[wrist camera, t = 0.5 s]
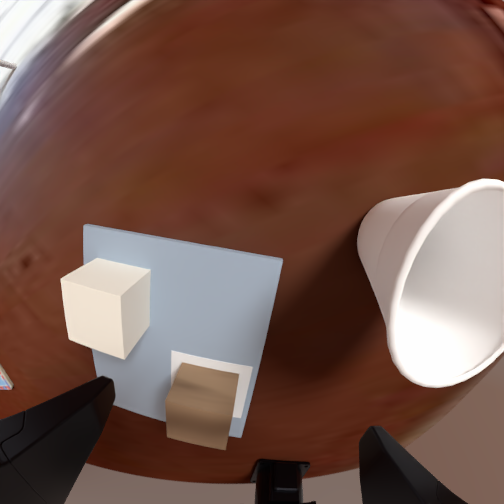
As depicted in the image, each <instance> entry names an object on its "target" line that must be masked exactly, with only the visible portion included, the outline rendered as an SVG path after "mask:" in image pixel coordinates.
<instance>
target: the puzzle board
mask: <svg viewBox="0 0 504 504" xmlns="http://www.w3.org/2000/svg"><path fill="white" fill-rule="evenodd" d="M13 386H14V384H13V383H12V381H11V380H10V378H9V377H8V375H7V374H6V372H5V371H4V369H3V368H2V366H1V364H0V390H9V389H12V387H13Z"/></svg>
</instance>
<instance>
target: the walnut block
mask: <svg viewBox="0 0 504 504" xmlns="http://www.w3.org/2000/svg"><path fill="white" fill-rule="evenodd" d="M238 379H239V374H237V373H232V372H226V371H221V370H216V369H211V368H206V367H201V366H197V365H192V364H188V363H184V362H182V364H181V366H180V368H179V370H178V373H177V375H176V377H175V379H174V382H173V384H172V386H171V389H170V391H169V393H168V395H167V398H166V400H165V409H166V428H167V437H168V438H172V439H176V440H180V441H184V442H188V443H192V444H197V445H201V446H206V447H211V448H216V449H222V450H226V445H227V441H228V436H229V431H230V426H231V421H232V417H233V411H234V404H235V398H236V392H237V385H238Z"/></svg>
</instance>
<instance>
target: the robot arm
mask: <svg viewBox="0 0 504 504" xmlns="http://www.w3.org/2000/svg"><path fill="white" fill-rule="evenodd" d="M115 397H116V394H115V387H114V381H113V379H111V378H109V377H106V376H103V375H102V376H99V377H97V378H95V379H93V380H91V381H89V382H87V383H85V384H83V385H80V386H78V387H76V388H74V389H72V390H70V391H68V392H65V393H63V394H61V395H59V396H57V397H54V398H52V399H50V400H48V401H46V402H43V403H41V404H39V405H36V406H34V407H32V408H30V409H27V410H26V411H22V412H20V413H18V414H15V415H12V416H10V417H7V418H4V419H1V420H0V504H64V503H65V501H66V498H67V497H68V495H69V493H70V491H71V489H72V487H73V485H74V483H75V481H76V479H77V478H78V476H79V474H80V472H81V470H82V468H83V466H84V464H85V463H86V461H87V459H88V457H89V455H90V453H91V451H92V450H93V448H94V446H95V444H96V442H97V441H98V439H99V437H100V435H101V433H102V431H103V428H104V426H105V423H106V421H107V418H108V416H109V413H110V411H111V408H112V406H113V403H114V401H115ZM359 464H360V484H361V493H362V501H363V504H468V503H466V502H465V501H463V500H462V499H461V498H459V497H458V496H457V495H455V494H454V493H452V492H451V491H450V490H449V489H448V488H447V487H445V486H444V485H443V484H442V483H441V482H440V481H438V480H437V479H436V478H435V477H434V476H433V475H432V474H431V473H430V472H429V471H428V470H427V469H425V468H424V467H423V466H422V465H421V464H420V463H419V462H418V461H417V460H416V459H415V458H414V457H413V456H412V455H411V454H409V453H408V452H407V451H406V450H405V449H404V448H403V447H402V446H401V445H400V444H399V443H398V442H397V441H396V440H395V439H394V438H393V437H392V436H391V435H390V434H389V433H388V432H387V431H386V430H385V429H383V428H382V427H381V426H370V427H369V428H368V429H367V431H366V432H365V434H364V435H363V436H362V438H361V439H360V442H359ZM309 467H310V463H309V462H290V461H276V460H265V459H260V460H258V462H257V464H256V467H255V469H254V472H253V474H252V476H251V479H250V482H252V483H256V492H255V504H316V501H312V502H309V503H303V489H302V478H303V476H304V475H305V473H306V472H307V470H308V469H309Z"/></svg>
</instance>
